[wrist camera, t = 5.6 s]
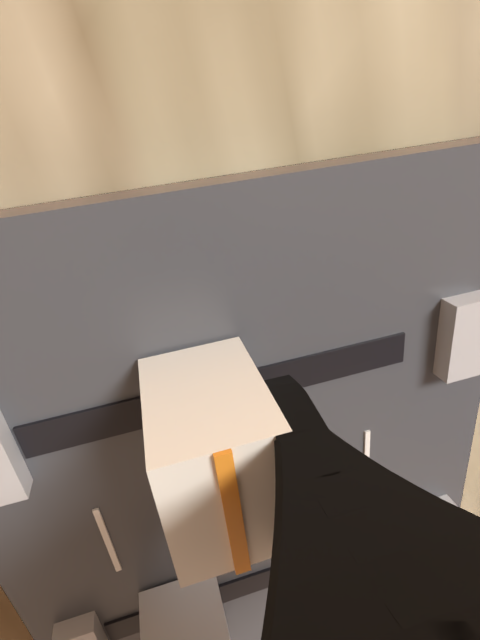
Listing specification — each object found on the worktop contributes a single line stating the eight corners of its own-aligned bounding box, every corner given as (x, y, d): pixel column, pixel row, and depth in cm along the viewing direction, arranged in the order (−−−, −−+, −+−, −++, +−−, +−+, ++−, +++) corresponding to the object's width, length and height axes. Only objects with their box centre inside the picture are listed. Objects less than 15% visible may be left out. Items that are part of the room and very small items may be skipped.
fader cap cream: (238, 336, 10) (294, 435, 7) (251, 432, 11) (302, 552, 8) (137, 359, 9) (146, 477, 6) (163, 457, 11) (181, 593, 8)
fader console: (488, 134, 11) (551, 136, 9) (426, 564, 19) (454, 604, 17) (-164, 234, 8) (-233, 260, 6) (89, 686, 16) (85, 747, 15)
